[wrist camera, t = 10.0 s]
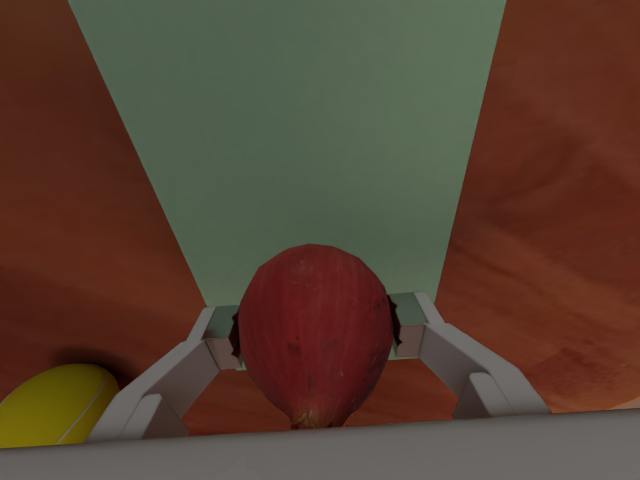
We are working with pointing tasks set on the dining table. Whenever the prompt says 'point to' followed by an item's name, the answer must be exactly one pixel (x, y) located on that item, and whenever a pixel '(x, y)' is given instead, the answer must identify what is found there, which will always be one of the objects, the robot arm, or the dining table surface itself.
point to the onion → (315, 333)
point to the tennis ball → (56, 406)
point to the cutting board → (300, 125)
